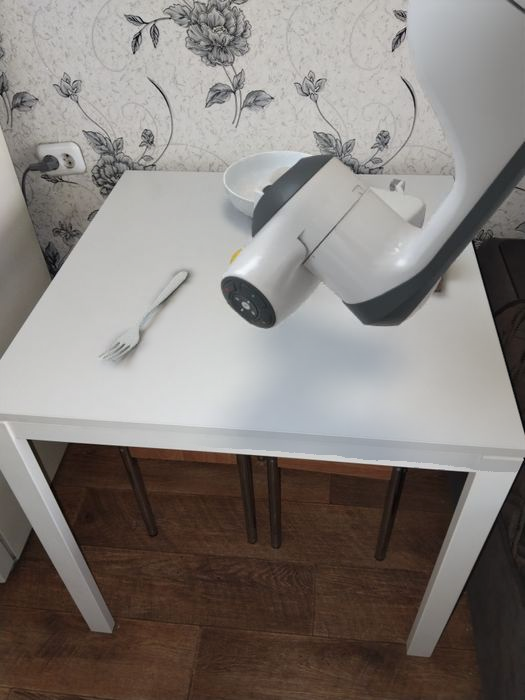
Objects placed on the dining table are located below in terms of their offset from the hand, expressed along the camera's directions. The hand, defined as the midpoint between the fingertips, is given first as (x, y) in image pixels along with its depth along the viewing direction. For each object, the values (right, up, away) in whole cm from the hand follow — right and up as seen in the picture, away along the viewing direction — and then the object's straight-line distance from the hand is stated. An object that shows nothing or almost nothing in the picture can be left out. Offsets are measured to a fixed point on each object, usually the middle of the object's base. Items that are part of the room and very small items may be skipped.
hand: (365, 177), depth 77 cm
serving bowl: (-10, +5, +37) cm, 39 cm away
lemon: (-16, -13, +19) cm, 28 cm away
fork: (-31, -17, +15) cm, 39 cm away
